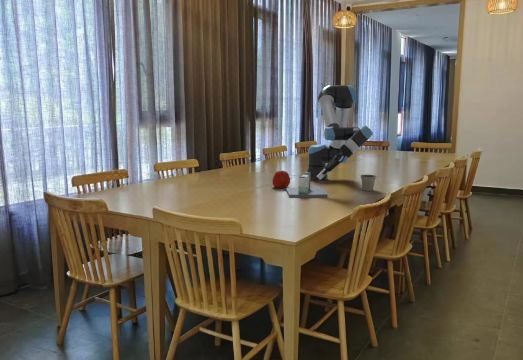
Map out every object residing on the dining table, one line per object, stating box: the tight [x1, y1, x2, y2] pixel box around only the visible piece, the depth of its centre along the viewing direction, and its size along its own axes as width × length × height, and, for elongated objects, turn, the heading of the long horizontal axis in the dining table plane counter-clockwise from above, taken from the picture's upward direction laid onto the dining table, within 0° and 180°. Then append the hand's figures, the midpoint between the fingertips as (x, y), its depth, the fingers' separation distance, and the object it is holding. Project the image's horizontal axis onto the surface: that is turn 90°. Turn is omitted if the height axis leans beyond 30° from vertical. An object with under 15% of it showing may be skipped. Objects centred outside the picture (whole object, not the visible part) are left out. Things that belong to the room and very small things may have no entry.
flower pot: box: [359, 174, 377, 192], centre depth 267 cm, size 9×9×9 cm
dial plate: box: [285, 185, 328, 198], centre depth 256 cm, size 22×21×6 cm
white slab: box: [298, 171, 311, 192], centre depth 257 cm, size 16×4×9 cm, turn 163°
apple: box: [272, 170, 291, 189], centre depth 274 cm, size 11×11×11 cm
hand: (318, 178), depth 253 cm, fingers closed
